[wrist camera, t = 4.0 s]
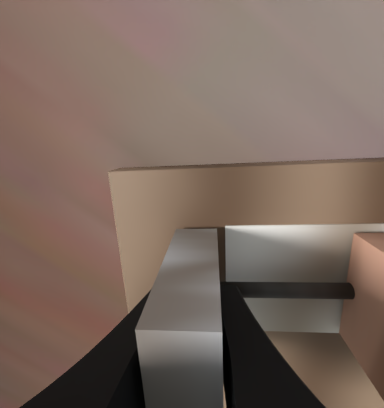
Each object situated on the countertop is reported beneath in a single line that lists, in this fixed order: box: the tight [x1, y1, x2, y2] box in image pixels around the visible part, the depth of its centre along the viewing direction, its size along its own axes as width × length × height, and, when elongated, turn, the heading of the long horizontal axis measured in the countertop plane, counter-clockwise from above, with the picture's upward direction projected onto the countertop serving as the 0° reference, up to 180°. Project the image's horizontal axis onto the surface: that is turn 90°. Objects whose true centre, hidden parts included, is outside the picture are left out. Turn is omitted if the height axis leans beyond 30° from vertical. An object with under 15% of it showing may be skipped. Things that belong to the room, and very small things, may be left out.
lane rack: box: [108, 158, 384, 408], centre depth 10 cm, size 19×17×4 cm
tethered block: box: [135, 229, 384, 408], centre depth 7 cm, size 11×5×5 cm, turn 93°
